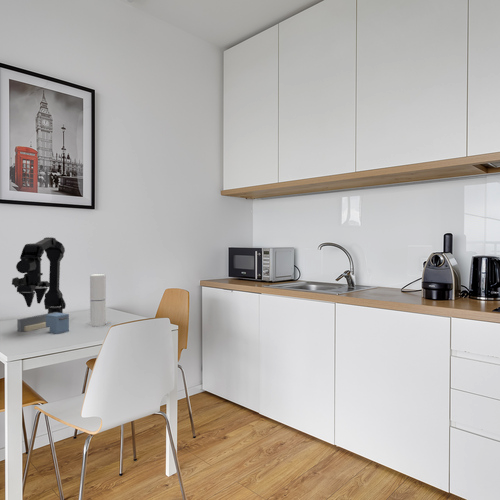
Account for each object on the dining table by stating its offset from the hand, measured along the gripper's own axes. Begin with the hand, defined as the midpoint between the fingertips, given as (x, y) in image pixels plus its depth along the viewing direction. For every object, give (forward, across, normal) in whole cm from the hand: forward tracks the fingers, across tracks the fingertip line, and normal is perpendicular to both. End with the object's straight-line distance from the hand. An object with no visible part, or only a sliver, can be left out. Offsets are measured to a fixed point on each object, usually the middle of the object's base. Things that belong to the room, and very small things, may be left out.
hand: (34, 305), depth 180 cm
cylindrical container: (+13, -14, +24) cm, 31 cm away
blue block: (+12, 0, +11) cm, 16 cm away
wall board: (+12, -10, -2) cm, 16 cm away
